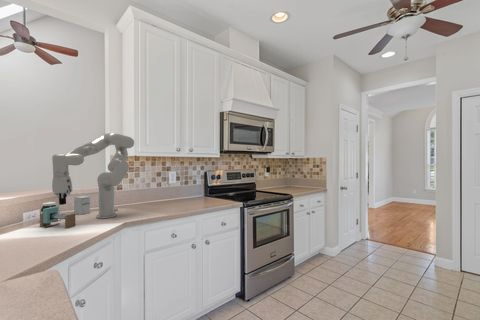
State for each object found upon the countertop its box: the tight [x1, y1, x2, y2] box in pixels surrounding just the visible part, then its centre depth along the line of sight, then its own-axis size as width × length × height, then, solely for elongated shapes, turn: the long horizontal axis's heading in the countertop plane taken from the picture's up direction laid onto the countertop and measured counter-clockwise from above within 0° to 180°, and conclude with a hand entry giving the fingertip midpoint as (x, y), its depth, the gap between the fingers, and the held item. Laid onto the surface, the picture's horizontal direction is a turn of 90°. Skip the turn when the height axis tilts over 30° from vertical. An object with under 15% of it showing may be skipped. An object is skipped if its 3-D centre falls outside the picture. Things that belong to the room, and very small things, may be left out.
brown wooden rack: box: [39, 212, 76, 229], centre depth 142 cm, size 20×9×8 cm, turn 80°
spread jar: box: [40, 201, 62, 221], centre depth 156 cm, size 12×11×12 cm
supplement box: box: [73, 195, 91, 216], centre depth 176 cm, size 7×7×13 cm
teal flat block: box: [43, 206, 59, 223], centre depth 143 cm, size 3×7×8 cm, turn 170°
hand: (62, 204), depth 143 cm, fingers closed
